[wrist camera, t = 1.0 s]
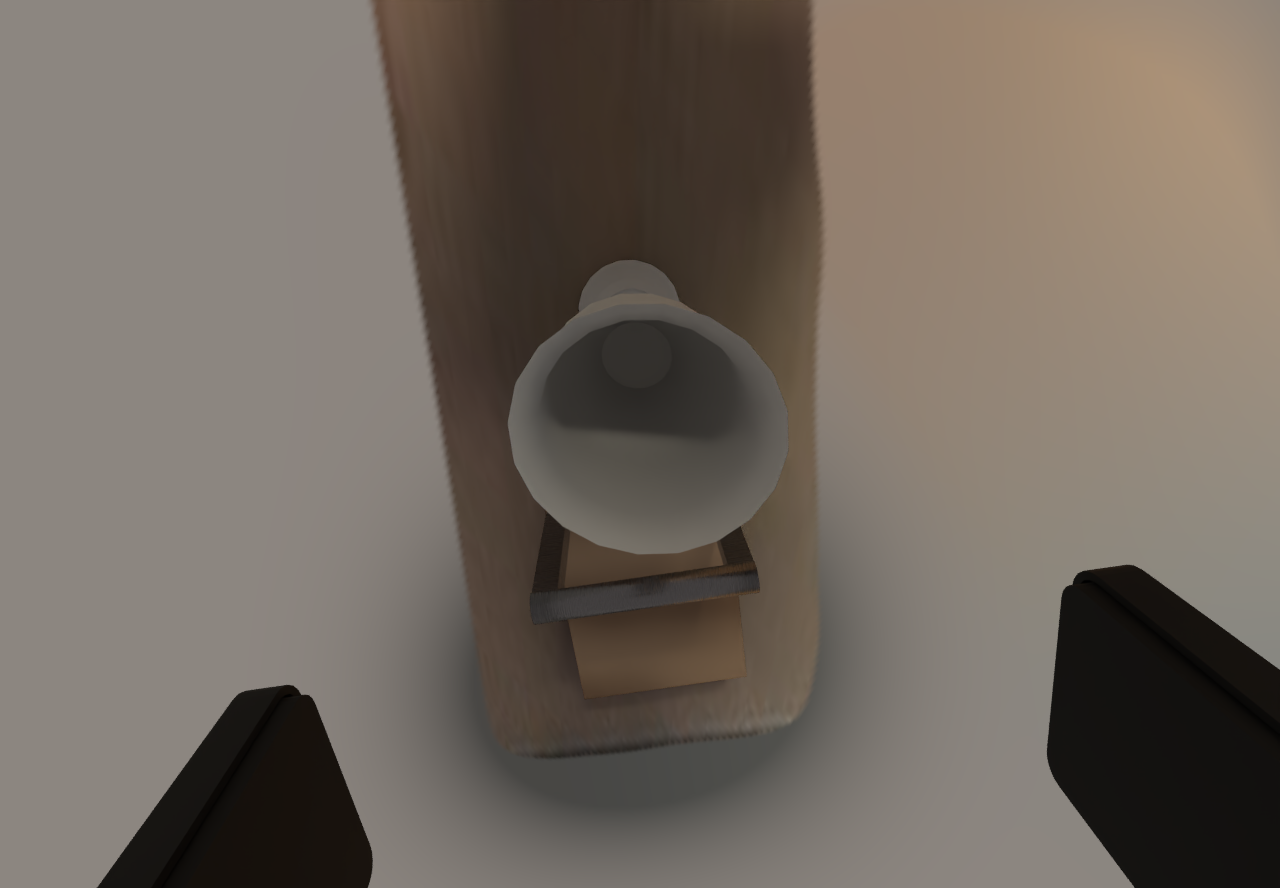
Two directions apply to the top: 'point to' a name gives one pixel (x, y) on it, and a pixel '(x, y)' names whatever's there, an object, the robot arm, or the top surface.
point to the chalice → (647, 419)
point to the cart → (645, 610)
